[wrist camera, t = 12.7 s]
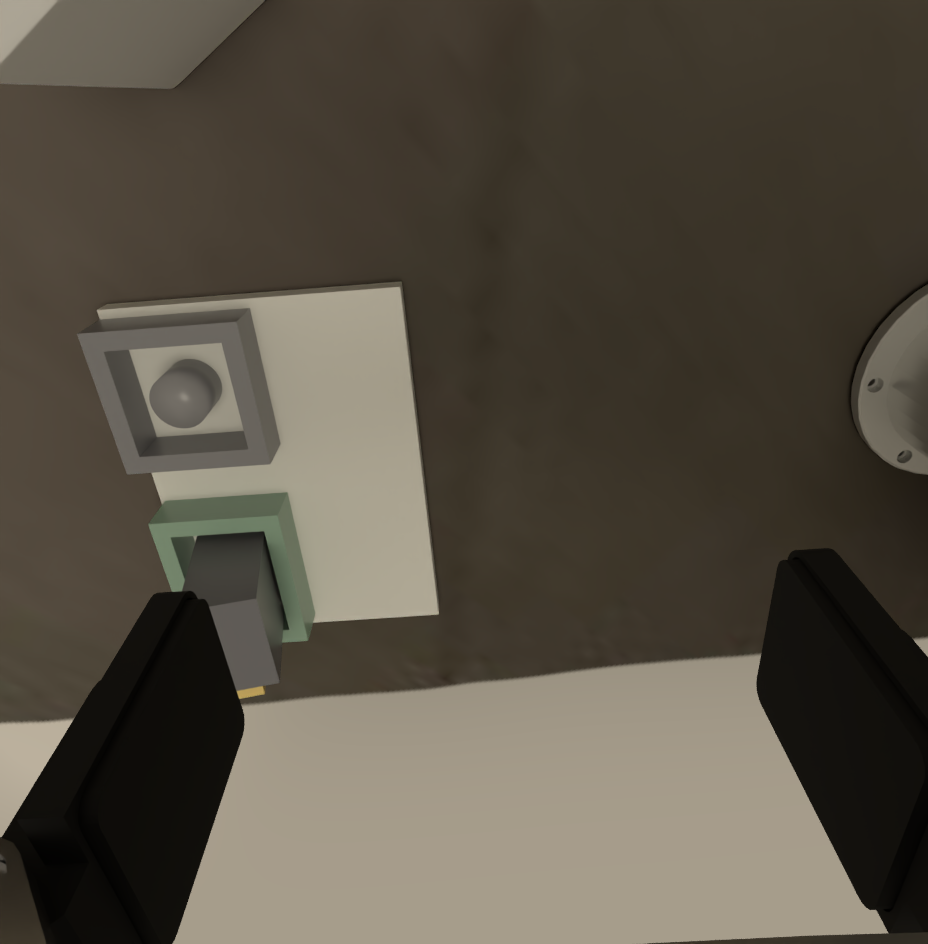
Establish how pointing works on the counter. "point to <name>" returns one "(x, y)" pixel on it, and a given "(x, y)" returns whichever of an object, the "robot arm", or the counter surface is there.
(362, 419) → the board
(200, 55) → the milk carton
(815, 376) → the counter surface
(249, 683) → the plug
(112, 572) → the counter surface
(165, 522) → the green rectangular frame
